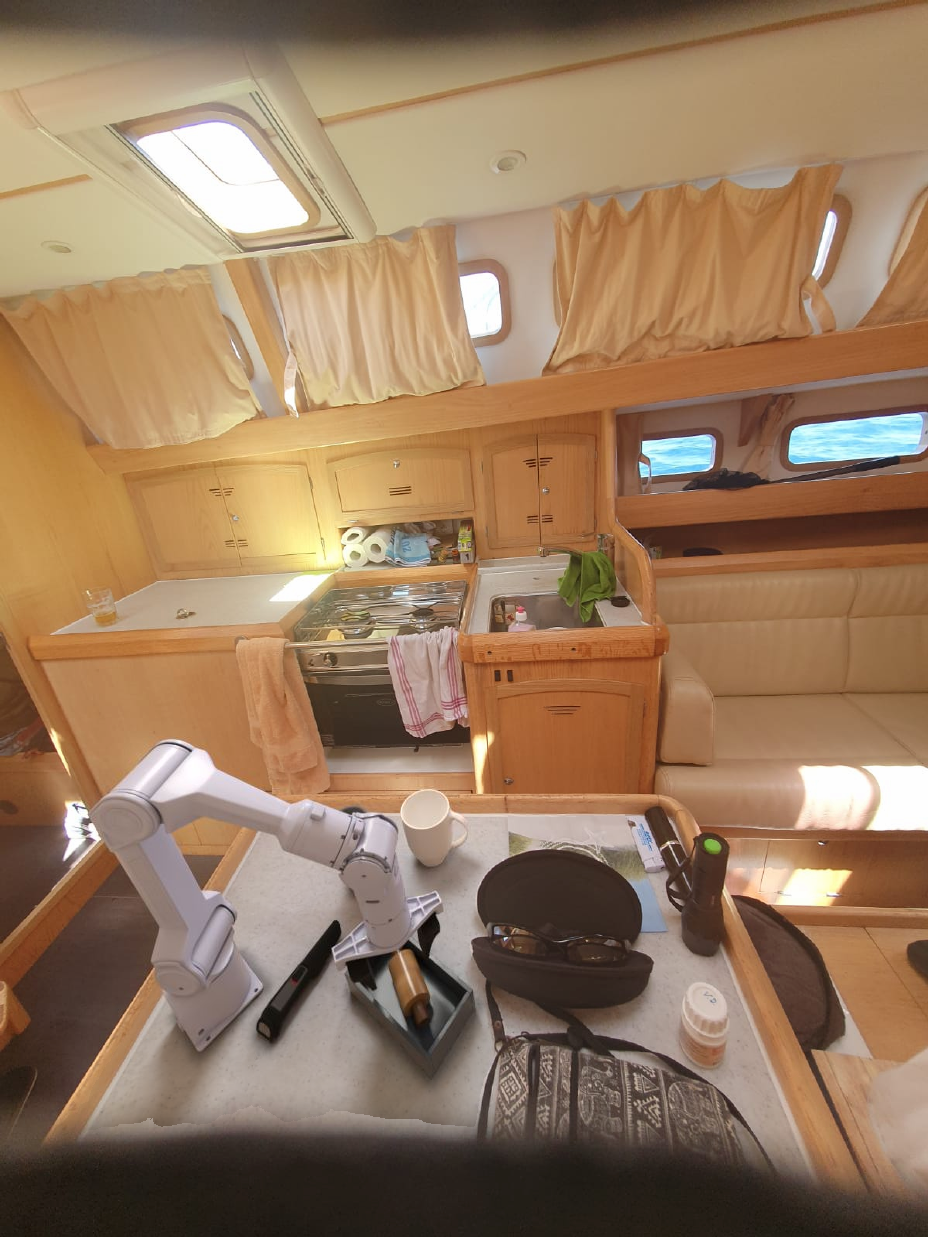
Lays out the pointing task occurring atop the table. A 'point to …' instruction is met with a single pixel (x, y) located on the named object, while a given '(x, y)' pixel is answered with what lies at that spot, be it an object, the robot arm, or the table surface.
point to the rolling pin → (410, 985)
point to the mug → (430, 826)
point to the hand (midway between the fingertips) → (399, 966)
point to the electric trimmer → (297, 983)
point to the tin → (444, 1008)
